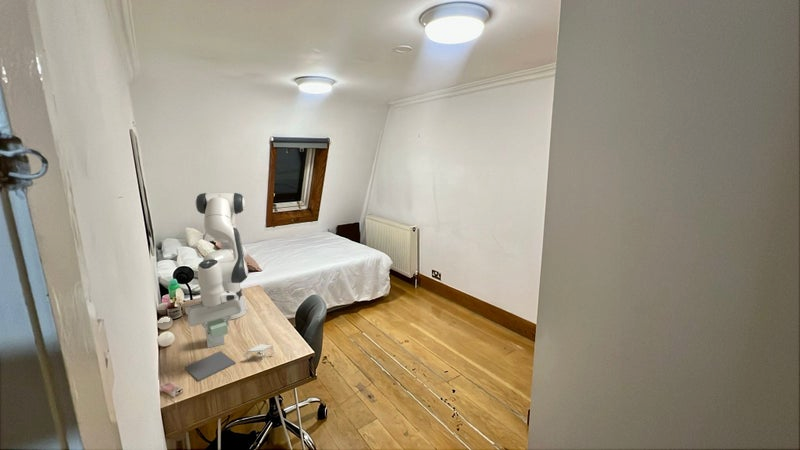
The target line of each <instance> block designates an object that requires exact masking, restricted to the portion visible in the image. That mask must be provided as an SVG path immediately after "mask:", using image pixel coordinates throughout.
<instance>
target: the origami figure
mask: <svg viewBox="0 0 800 450" xmlns="http://www.w3.org/2000/svg"><path fill="white" fill-rule="evenodd" d="M268 349H271V350H272V353H271V354H270V355H271V356H272V357H273V354H275V353H276V352H275V348H274V345H271V344H263V343H260V344H258V345H256V346H254V347H252V348H250V349H248V350H246V352H245V354H244V355H243V357H245V358H246V359H248V360H251V359H250V357H248V356H247V355H248V354H249V353H260V354H261V355H262V356H261V358H262V361H265V352H264V351H267V350H268Z"/></svg>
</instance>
